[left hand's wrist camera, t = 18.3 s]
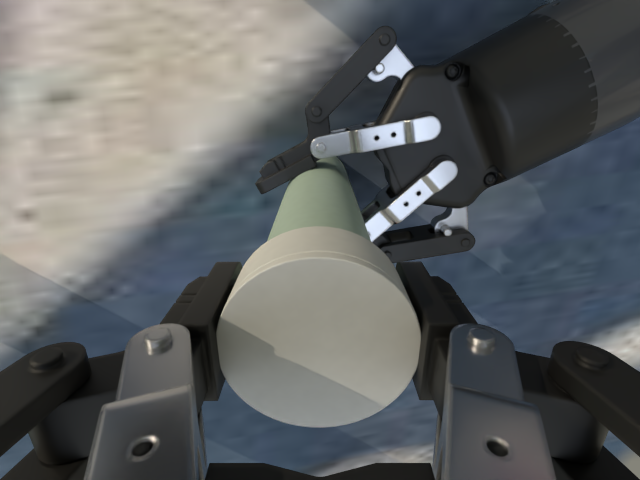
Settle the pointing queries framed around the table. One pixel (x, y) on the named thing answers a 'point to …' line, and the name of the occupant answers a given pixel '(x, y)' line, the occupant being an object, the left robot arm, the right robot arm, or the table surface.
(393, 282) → the lid
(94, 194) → the table surface
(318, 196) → the pale green cylinder
